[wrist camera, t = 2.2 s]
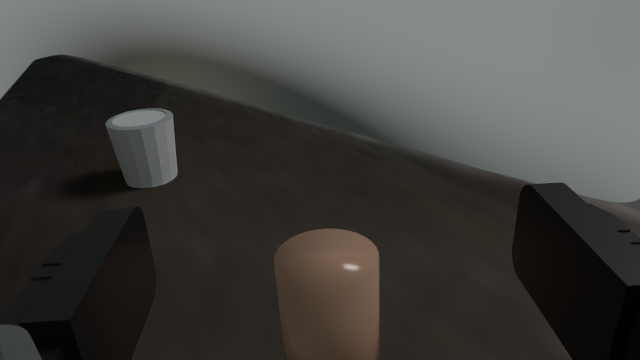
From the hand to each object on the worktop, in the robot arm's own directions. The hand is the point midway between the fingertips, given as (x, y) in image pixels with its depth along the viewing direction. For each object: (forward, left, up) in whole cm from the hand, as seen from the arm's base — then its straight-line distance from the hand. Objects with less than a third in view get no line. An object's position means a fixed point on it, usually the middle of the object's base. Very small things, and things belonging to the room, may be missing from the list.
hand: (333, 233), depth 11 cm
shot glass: (+46, -11, -18) cm, 51 cm away
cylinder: (+9, -7, -18) cm, 21 cm away
